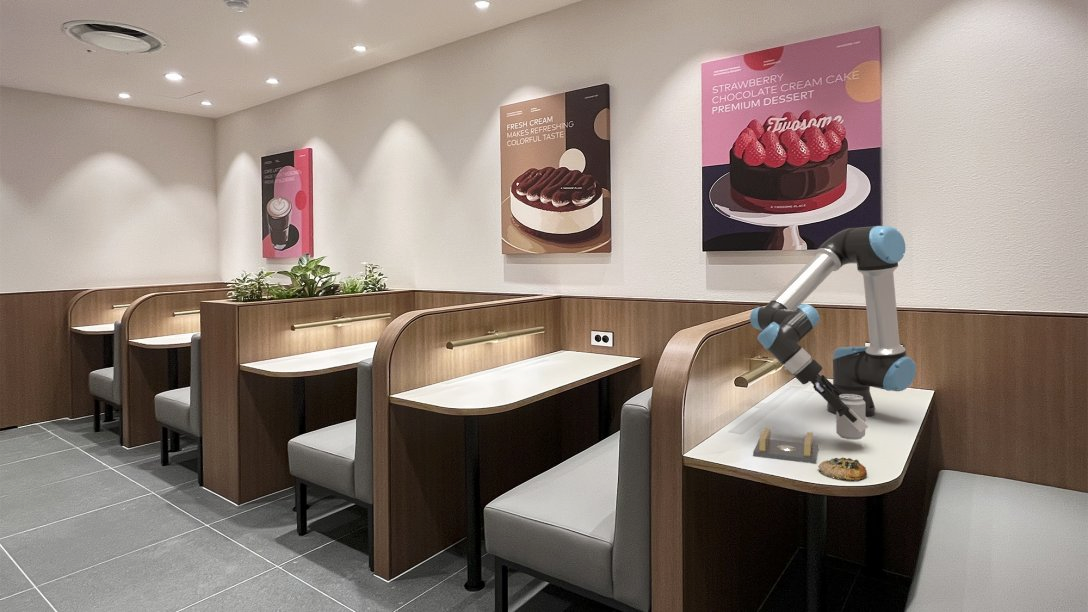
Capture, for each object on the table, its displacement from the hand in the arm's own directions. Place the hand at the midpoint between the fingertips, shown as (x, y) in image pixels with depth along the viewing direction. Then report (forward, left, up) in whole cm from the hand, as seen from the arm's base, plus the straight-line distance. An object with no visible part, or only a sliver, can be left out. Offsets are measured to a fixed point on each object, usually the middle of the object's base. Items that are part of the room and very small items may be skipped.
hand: (864, 425), depth 176 cm
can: (+3, -1, -4) cm, 5 cm away
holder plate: (+23, +4, -6) cm, 24 cm away
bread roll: (+15, +21, -7) cm, 27 cm away
